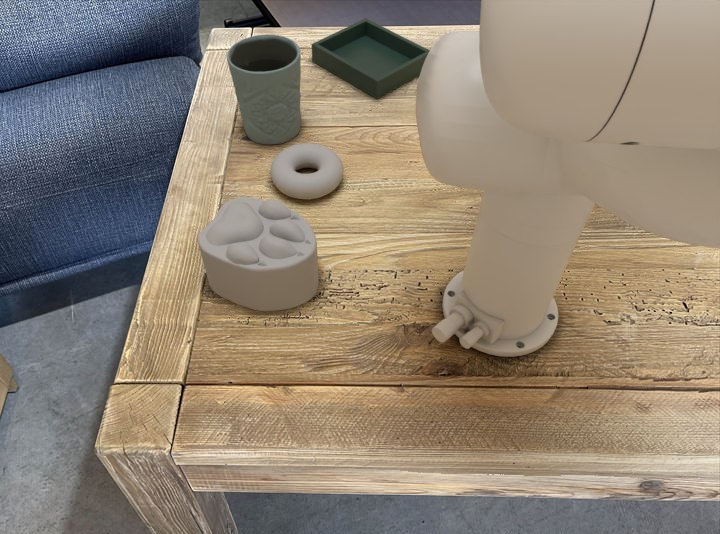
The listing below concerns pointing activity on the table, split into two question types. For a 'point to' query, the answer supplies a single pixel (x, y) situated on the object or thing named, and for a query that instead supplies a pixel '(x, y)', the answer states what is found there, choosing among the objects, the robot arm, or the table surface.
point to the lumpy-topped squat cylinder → (260, 255)
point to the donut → (306, 183)
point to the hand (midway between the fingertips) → (517, 92)
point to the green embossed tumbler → (267, 87)
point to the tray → (370, 57)
